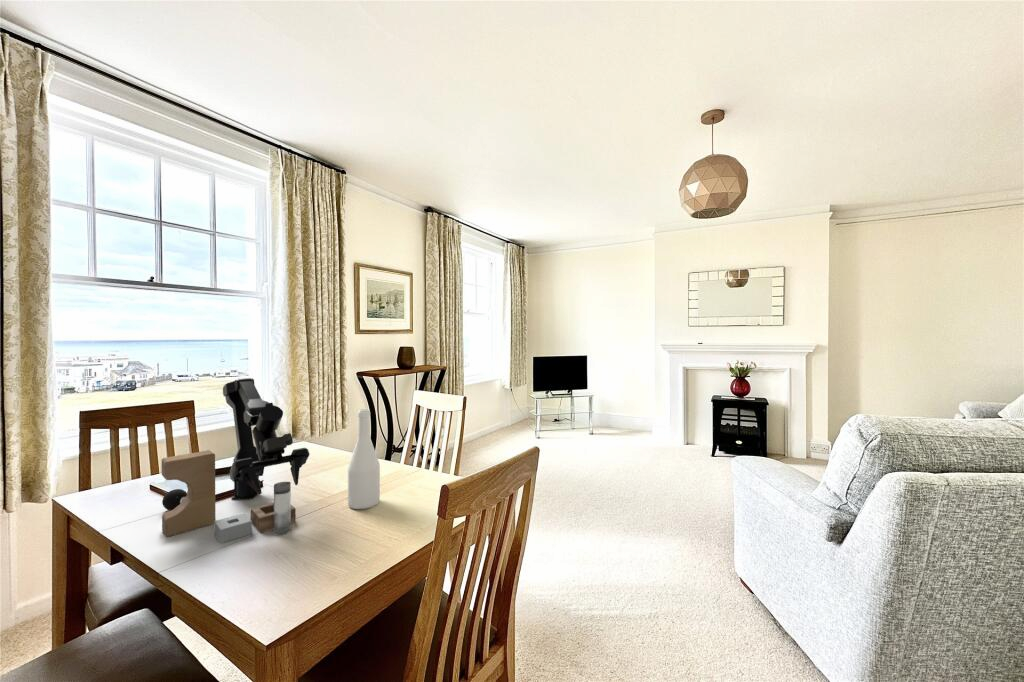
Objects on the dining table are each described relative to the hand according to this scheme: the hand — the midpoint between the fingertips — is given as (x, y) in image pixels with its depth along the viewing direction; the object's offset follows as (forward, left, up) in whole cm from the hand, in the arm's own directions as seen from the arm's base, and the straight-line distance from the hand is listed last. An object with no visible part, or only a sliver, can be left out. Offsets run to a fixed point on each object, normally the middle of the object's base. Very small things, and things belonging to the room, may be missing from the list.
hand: (279, 488), depth 115 cm
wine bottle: (+19, +15, -11) cm, 27 cm away
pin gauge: (+2, -2, -11) cm, 11 cm away
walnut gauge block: (-4, +4, -11) cm, 12 cm away
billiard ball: (-37, +16, -11) cm, 42 cm away
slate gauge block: (-11, -2, -11) cm, 16 cm away
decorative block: (-25, +3, -11) cm, 28 cm away
